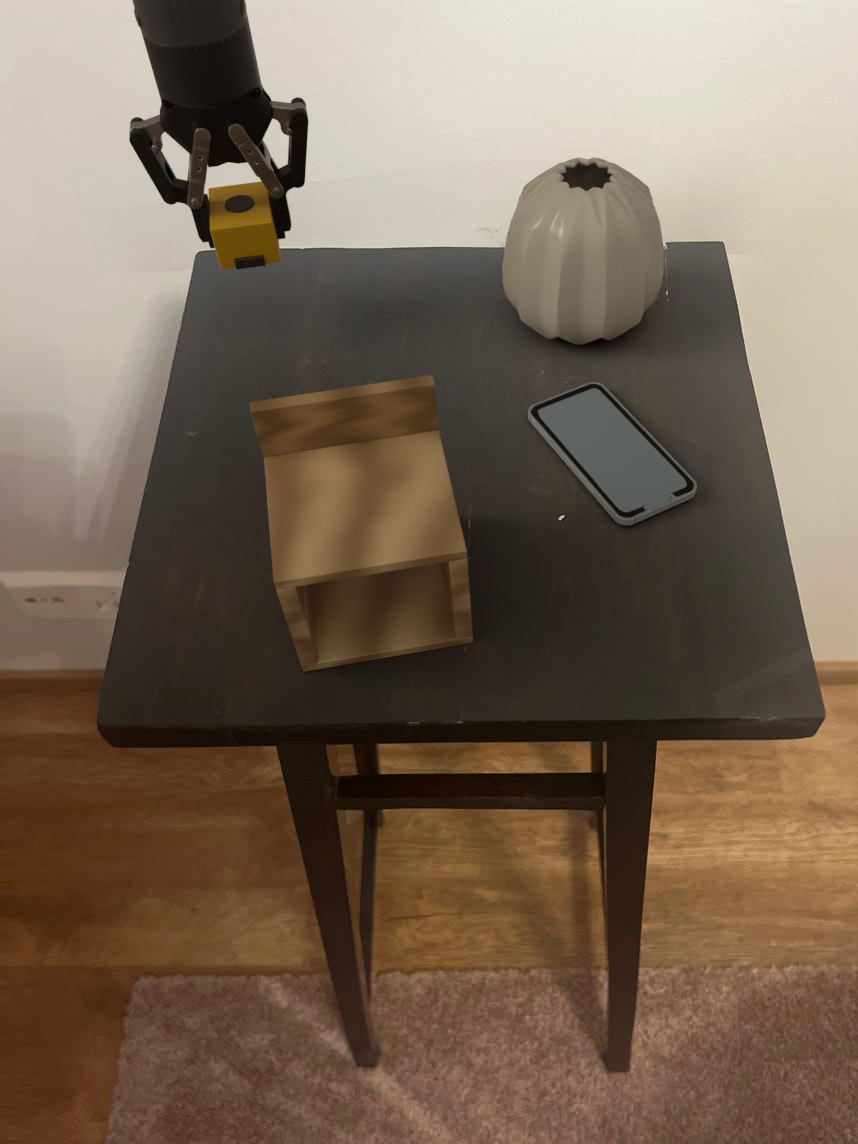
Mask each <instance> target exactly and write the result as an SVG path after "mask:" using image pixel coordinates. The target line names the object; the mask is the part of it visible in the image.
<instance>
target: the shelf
mask: <svg viewBox="0 0 858 1144" xmlns="http://www.w3.org/2000/svg"><path fill="white" fill-rule="evenodd" d="M249 413H250V416H251V419H252V422H253V426H254V430H255V433H256V437H257V439H258V443H259V447H260V450H261V453H262V456H263V464H264V479H265V489H266V490H265V492H266V502H267V503H266V505H267V515H268V517H267V518H268V530H269V543H270V554H271V567H272V577H273V578H272V580H273V584H274V585H273V586H274V588H275V589H276V590H275V591H276V594H277V597H278V600H279V603H280V606H281V609H282V612H283V616H284V617H285V622H286V625H287V627H288V630H289V633H290V636H291V639H292V642H293V645H294V648H295V651H296V655H297V657H298V659H299V663H300V666H301V669H302V672H305V673H306V672H310V671H316V670H323V669H329V668H333V667H340V666H346V665H351V664H352V665H353V664H357V663H362V662H369V661H370V662H371V661H376V660H381V659H386V658H392V657H393V658H394V657H399V656H405V655H410V654H416V653H421V652H428V651H433V650H439V649H444V648H445V649H446V648H450V647H451V648H452V647H456V646H463V645H468V644H473V643H474V634H473V618H472V604H471V592H470V591H471V589H470V577H469V576H470V575H469V562H468V561H469V560H468V549H467V546H466V541H465V536H464V532H463V528H462V523H461V520H460V515H459V511H458V506H457V502H456V497H455V495H454V490H453V486H452V480H451V476H450V473H449V468H448V463H447V459H446V457H445V455H446V454H445V450H444V447H443V441H442V438H441V433H440V430H439V429H440V428H439V417H438V406H437V395H436V384H435V380H434V376H433V375H432V374H430V375H423V376H414V377H410V378H402V379H395V380H390V381H384V382H376V383H369V384H362V385H356V386H350V387H342V388H336V389H335V388H334V389H328V390H322V391H315V392H310V393H309V392H308V393H303V394H302V393H301V394H295V395H289V396H283V397H276V398H269V399H263V400H255V401H250V402H249Z"/></svg>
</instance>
